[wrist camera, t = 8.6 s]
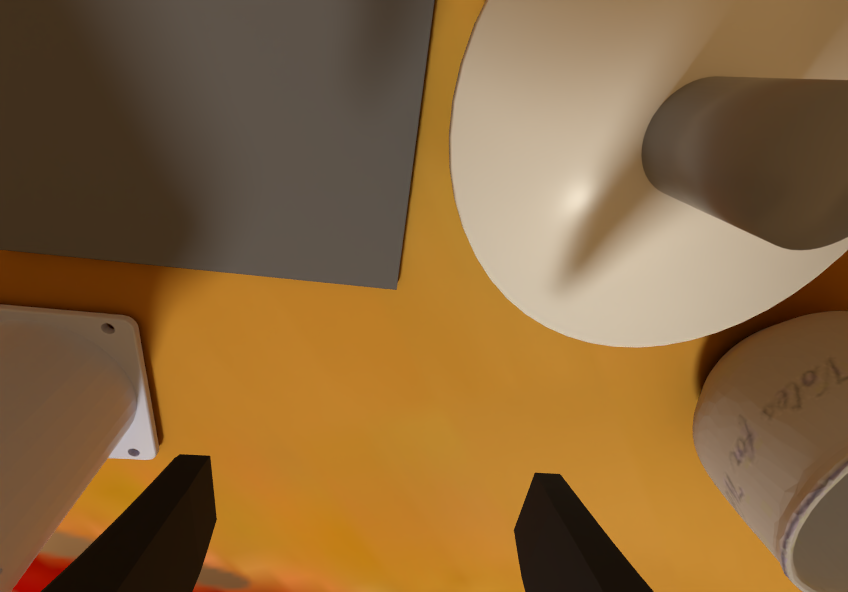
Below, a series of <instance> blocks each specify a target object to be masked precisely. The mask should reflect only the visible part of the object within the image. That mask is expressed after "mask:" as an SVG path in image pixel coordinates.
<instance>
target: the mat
mask: <svg viewBox="0 0 848 592" xmlns="http://www.w3.org/2000/svg"><path fill="white" fill-rule="evenodd" d="M433 8H434V0H0V250H9V251H19V252H29V253H39V254H49V255H59V256H68V257H78V258H88V259H98V260H108V261H118V262H128V263H137V264H147V265H157V266H167V267H177V268H187V269H197V270H207V271H216V272H226V273H236V274H246V275H256V276H266V277H276V278H285V279H295V280H305V281H315V282H325V283H335V284H345V285H354V286H364V287H374V288H384V289H394V290H397V282H398V274H399V267H400V259H401V252H402V244H403V236H404V229H405V221H406V213H407V206H408V198H409V191H410V183H411V175H412V168H413V160H414V152H415V145H416V137H417V130H418V122H419V114H420V107H421V99H422V91H423V84H424V76H425V69H426V61H427V53H428V46H429V38H430V30H431V23H432V15H433Z"/></svg>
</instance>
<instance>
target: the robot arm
mask: <svg viewBox="0 0 848 592" xmlns="http://www.w3.org/2000/svg"><path fill="white" fill-rule="evenodd" d="M106 323H108V324H111V325H112V326H113V327H114V329H112V328H110V327H108V325H107V324H106ZM136 449H137V450H136ZM158 452H159V443H158V438H157V432H156V426H155V420H154V414H153V409H152V403H151V397H150V391H149V386H148V380H147V374H146V368H145V363H144V357H143V351H142V345H141V339H140V334H139V328H138V325H137V322H136V321H135V320H134V319H132V318H131V317H129V316H125V315H117V314H105V313H94V312H82V311H71V310H60V309H48V308H37V307H25V306H14V305H3V304H0V592H11V590H12V589H13V588H14V586H15V585H16V584H17V582H18V581H19V579H20V578H21V577H22V575H23V574H24V573H25V571H26V570H27V568H28V567H29V566H30V564H31V563H32V562H33V560H34V559H35V557H36V556H37V555H38V553H39V552H40V551H41V549H42V548H43V546H44V545H45V544H46V542H47V541H48V540H49V538H50V537H51V535H52V534H53V533H54V531H55V530H56V529H57V527H58V526H59V524H60V523H61V522H62V520H63V519H64V518H65V516H66V515H67V513H68V512H69V511H70V509H71V508H72V507H73V505H74V504H75V502H76V501H77V500H78V498H79V497H80V496H81V494H82V493H83V491H84V490H85V489H86V487H87V486H88V485H89V483H90V482H91V480H92V479H93V478H94V476H95V475H96V474H97V472H98V471H99V469H100V468H101V467H102V465H103V464H104V463H105V461H106V460H107V458H121V459H141V460H149V459H153V458H155V456H156V455H157V453H158ZM216 520H217V518H216V508H215V499H214V489H213V479H212V470H211V460H210V456H202V455H183V454H180V455H178V456H177V457H175V458H174V459H173V460H172V462H171V463H170V464H169V465H168V466H167V467H166V468H165V469H164V470H163V471H162V472H161V473H160V474H159V475H158V477H157V478H156V479H155V480H154V481H153V482H152V483H151V484H150V485H149V486H148V487H147V488H146V489H145V490H144V491H143V492H142V494H141V495H140V496H139V497H138V498H137V499H136V500H135V501H134V502H133V503H132V504H131V505H130V506H129V507H128V508H127V509H126V510H125V511H124V512H123V513H122V514H121V515H120V516H119V517H118V518H117V519H116V520H115V521H114V522H113V523H112V524H111V525H110V526H109V527H108V528H107V529H106V530H105V531H104V532H103V533H102V534H101V535H100V536H99V537H98V538H97V539H96V540H95V541H94V542H93V543H92V544H91V545H90V546H89V547H88V548H87V549H86V550H85V551H84V552H83V553H82V554H81V555H80V556H79V557H78V558H77V559H75V560H74V561H73V562H72V563H71V564H70V565H69V566H68V567H67V568H66V569H65V570H64V571H63V572H61V573H60V574H59V575H58V576H57V577H56V578H55V579H54V580H53V581H52V582H51V583H50V584H48V585H47V586H46V587H45V588H44V589H43V590H42V591H41V592H192V591H193V589H194V586H195V584H196V581H197V579H198V577H199V574H200V571H201V569H202V565H203V562H204V559H205V556H206V553H207V550H208V546H209V543H210V540H211V536H212V533H213V530H214V526H215V523H216ZM514 533H515V539H516V546H517V552H518V559H519V564H520V570H521V576H522V580H523V584H524V588H525V592H653V590H652V589H651V588H650V587H649V586H648V584H647V583H646V582H645V581H644V580H643V579H642V577H641V576H640V575H639V574H638V573H637V571H636V570H635V569H634V568H633V566H632V565H631V564H630V563H629V562H628V560H627V559H626V558H625V557H624V555H623V554H622V553H621V552H620V550H619V549H618V548H617V547H616V546H615V544H614V543H613V542H612V541H611V539H610V538H609V537H608V535H607V534H606V533H605V532H604V530H603V529H602V528H601V526H600V525H599V524H598V523H597V521H596V520H595V519H594V517H593V516H592V515H591V514H590V512H589V511H588V510H587V508H586V507H585V506H584V504H583V503H582V502H581V501H580V499H579V498H578V497H577V495H576V494H575V493H574V491H573V490H572V489H571V488H570V486H569V485H568V484H567V482H566V481H565V480H564V479H563V477H562V476H561V475H560V474H549V473H535V474H534V477H533V480H532V482H531V485H530V488H529V490H528V493H527V496H526V499H525V501H524V504H523V507H522V510H521V512H520V515H519V518H518V520H517V523H516V526H515V529H514Z"/></svg>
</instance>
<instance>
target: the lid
mask: <svg viewBox="0 0 848 592" xmlns="http://www.w3.org/2000/svg"><path fill="white" fill-rule="evenodd" d="M449 162H450V174H451V180H452V187H453V193H454V199H455V203H456V206H457V209H458V213H459V216H460V220H461V223H462V226H463V228H464V231H465V233H466V235H467V237H468V240H469V242H470V244H471V246H472V248H473V251H474V253H475V255H476V257H477V259H478V260H479V262H480V264H481V265H482V267H483V268H484V270H485V271H486V273H487V275H488V276H489V278H490V279H491V280H492V282H493V283H494V284H495V285H496V286H497V287H498V288H499V290H500V291H501V292H502V293H503V294H504V295H505V297H506V298H507V299H508V300H510V301H511V302H512V303H513V304H514V305H515V306H517V307H518V308H519V309H520V310H521V311H523V312H524V313H525V314H526V315H528V316H529V317H531V318H533V319H534V320H536V321H537V322H539V323H541V324H542V325H544V326H545V327H548V328H550V329H552V330H554V331H557V332H559V333H561V334H563V335H566V336H568V337H572V338H575V339H579V340H582V341H585V342H589V343H594V344H601V345H607V346H614V347H650V346H662V345H669V344H674V343H679V342H685V341H690V340H693V339H697V338H700V337H704V336H707V335H711V334H714V333H717V332H719V331H722V330H725V329H727V328H730V327H732V326H735V325H737V324H740V323H742V322H744V321H746V320H748V319H750V318H752V317H754V316H756V315H758V314H760V313H762V312H764V311H766V310H768V309H770V308H771V307H773V306H775V305H776V304H778V303H779V302H781V301H783V300H784V299H786V298H788V297H789V296H791V295H793V294H794V293H795V292H797V291H798V290H799V289H801V288H802V287H804V286H805V285H806V284H808V283H809V282H810V281H812V280H813V279H815V278H816V277H817V276H819V275H820V274H821V273H822V272H823V271H824V270H826V269H827V268H828V267H829V266H830V265H831V264H832V263H834V262H835V261H836V260H837V259H838V258H839V257H841V256H842V255H843V254H844V253H845V252H846V251H847V250H848V0H486V1H485V3H484V5H483V8H482V10H481V12H480V14H479V16H478V18H477V20H476V22H475V24H474V27H473V30H472V32H471V35H470V38H469V41H468V44H467V47H466V50H465V52H464V55H463V58H462V61H461V64H460V69H459V73H458V78H457V82H456V87H455V91H454V96H453V100H452V110H451V120H450V130H449Z"/></svg>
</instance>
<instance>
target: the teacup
mask: <svg viewBox="0 0 848 592" xmlns="http://www.w3.org/2000/svg"><path fill="white" fill-rule="evenodd" d="M693 439H694V444H695V448H696V451H697V454H698V456H699V458H700V461H701V463H702V464H703V466H704V468H705V470H706V472H707V473H708V475H709V476H710V477H711V479H712V480H713V482H714V483H715V485H716V486H717V487H718V489H719V490H720V491H721V492H722V494H723V495H724V496H725V498H726V499H727V500H728V501H729V503H730V504H731V505H732V506H733V508H734V509H735V510H736V511H737V513H738V514H739V515H740V516H741V518H742V519H743V520H744V521H745V522H746V523H747V525H748V526H749V527H750V528H751V529H752V531H753V532H754V533H755V534H756V535H757V536H758V537H759V539H760V540H761V541H762V542H763V543H764V544H765V546H766V547H767V548H768V549H769V550H770V551H771V553H772V554H773V555H774V556H775V557H776V558H777V560H778V561H779V562H780V564H781V567H782V569H783V571H784V574H785V575H786V576H787V577H788V578H789V579H790V581H791V582H792V583H793V584H795V585H796V586H797V587H798V588H799V589H800V590H802V591H803V592H848V311H826V312H819V313H813V314H808V315H804V316H800V317H796V318H793V319H790V320H787V321H784V322H782V323H779V324H777V325H773V326H770V327H768V328H765V329H762V330H760V331H758V332H756V333H754V334H752V335H750V336H749V337H747V338H745V339H744V340H742V341H741V342H739V343H738V344H736V345H735V346H734V347H733V348H731V349H730V350H729V351H728V352H727V353H726V354H725V355H724V356H723V357H722V358H721V359H720V360H719V361H718V363H717V364H716V365H715V366H714V368H713V369H712V371H711V372H710V374H709V375H708V377H707V379H706V381H705V383H704V386H703V388H702V391H701V395H700V397H699V399H698V402H697V406H696V409H695V413H694V420H693Z"/></svg>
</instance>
